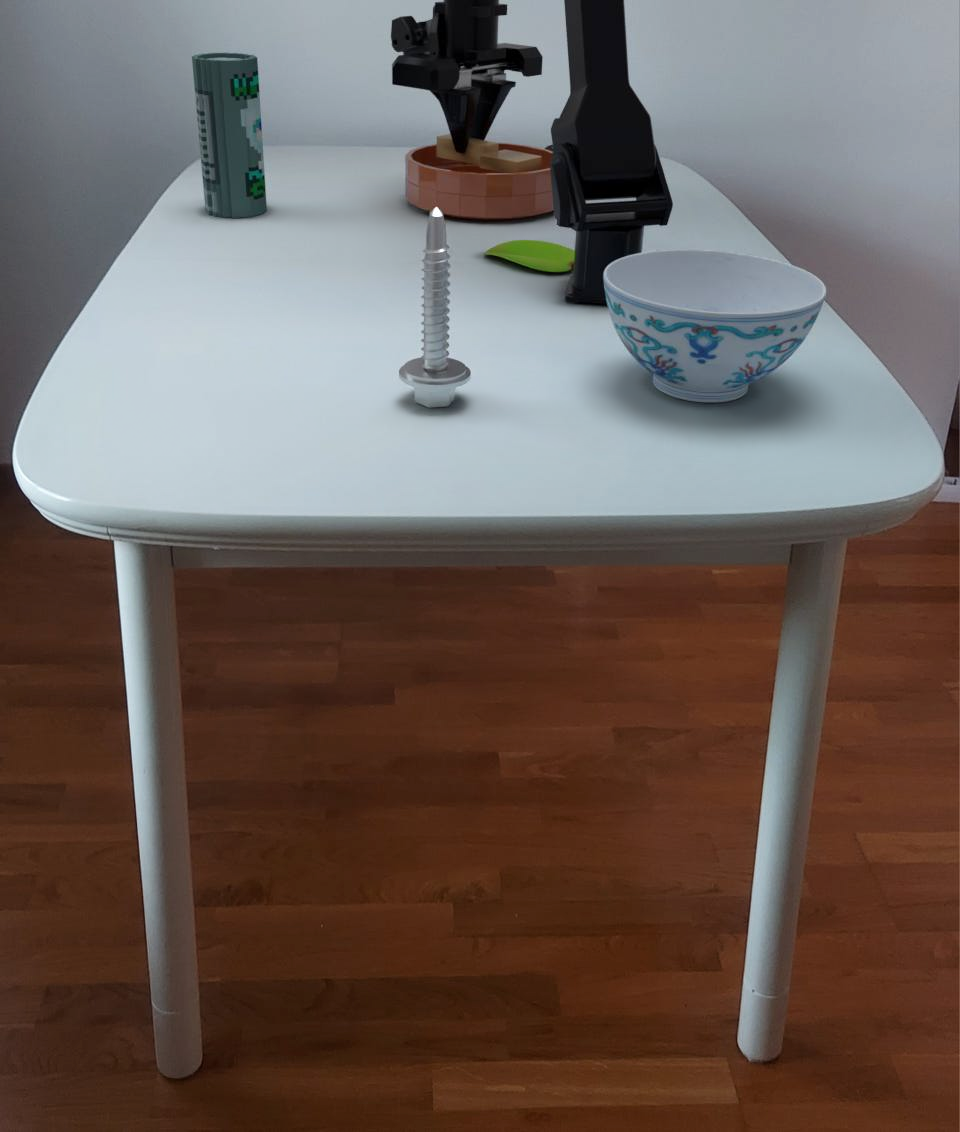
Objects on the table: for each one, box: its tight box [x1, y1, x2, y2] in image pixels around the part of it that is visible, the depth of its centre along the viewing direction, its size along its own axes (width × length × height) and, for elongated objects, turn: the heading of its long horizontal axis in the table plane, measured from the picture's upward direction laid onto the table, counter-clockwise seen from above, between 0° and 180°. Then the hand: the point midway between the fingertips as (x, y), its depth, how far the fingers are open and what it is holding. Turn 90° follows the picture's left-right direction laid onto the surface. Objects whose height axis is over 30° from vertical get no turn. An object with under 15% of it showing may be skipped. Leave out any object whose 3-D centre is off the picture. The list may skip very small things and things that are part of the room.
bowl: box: [404, 141, 554, 221], centre depth 128 cm, size 17×17×5 cm
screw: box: [398, 207, 472, 409], centre depth 77 cm, size 13×5×5 cm
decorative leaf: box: [483, 239, 575, 273], centre depth 110 cm, size 8×9×1 cm
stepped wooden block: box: [436, 133, 542, 173], centre depth 127 cm, size 12×4×2 cm, turn 51°
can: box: [191, 52, 268, 219], centre depth 120 cm, size 6×6×15 cm
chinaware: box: [603, 248, 827, 404], centre depth 82 cm, size 15×15×8 cm
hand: (467, 151), depth 128 cm, fingers closed on stepped wooden block, 2 cm apart
